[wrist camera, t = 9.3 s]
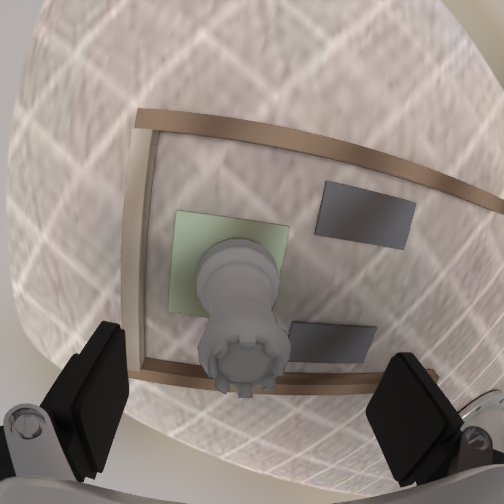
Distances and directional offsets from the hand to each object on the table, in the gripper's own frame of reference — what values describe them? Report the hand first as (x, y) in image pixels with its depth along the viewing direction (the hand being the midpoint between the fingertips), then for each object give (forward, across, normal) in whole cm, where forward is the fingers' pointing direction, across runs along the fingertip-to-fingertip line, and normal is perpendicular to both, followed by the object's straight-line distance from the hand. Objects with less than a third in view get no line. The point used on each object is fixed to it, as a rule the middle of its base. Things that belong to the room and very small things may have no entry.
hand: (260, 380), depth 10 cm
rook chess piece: (+8, +1, 0) cm, 8 cm away
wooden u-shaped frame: (+8, -5, 0) cm, 10 cm away
